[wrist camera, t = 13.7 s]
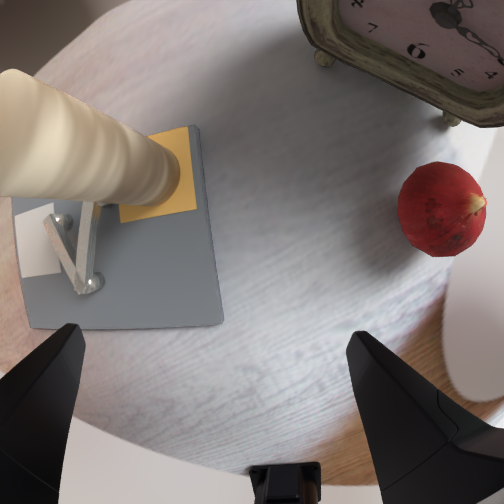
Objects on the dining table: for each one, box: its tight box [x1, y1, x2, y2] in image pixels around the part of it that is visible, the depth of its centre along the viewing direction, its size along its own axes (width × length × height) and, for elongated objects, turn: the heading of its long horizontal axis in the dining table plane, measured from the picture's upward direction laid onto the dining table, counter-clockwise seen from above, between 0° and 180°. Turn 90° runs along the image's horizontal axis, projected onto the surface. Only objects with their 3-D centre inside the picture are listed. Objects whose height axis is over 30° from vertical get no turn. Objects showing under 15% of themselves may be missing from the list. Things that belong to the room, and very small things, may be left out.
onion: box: [398, 161, 487, 257], centre depth 15 cm, size 6×6×8 cm
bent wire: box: [43, 201, 114, 295], centre depth 20 cm, size 7×6×2 cm
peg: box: [0, 69, 180, 207], centre depth 13 cm, size 4×4×14 cm
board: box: [12, 125, 224, 329], centre depth 22 cm, size 14×20×1 cm
